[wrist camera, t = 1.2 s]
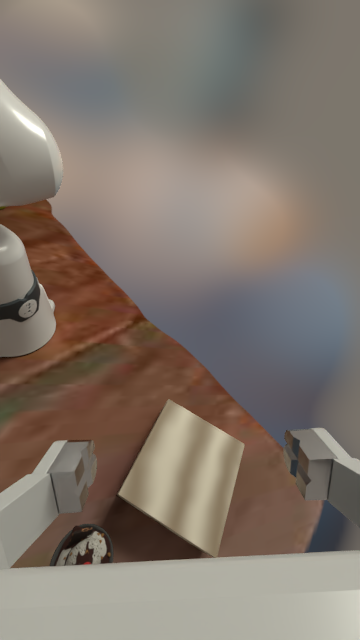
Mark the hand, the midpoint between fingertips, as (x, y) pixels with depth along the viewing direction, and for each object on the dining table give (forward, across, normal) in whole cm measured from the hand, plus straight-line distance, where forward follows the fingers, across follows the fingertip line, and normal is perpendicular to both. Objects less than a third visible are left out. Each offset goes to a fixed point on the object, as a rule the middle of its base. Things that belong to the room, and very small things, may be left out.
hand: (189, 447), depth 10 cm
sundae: (+17, +15, +32) cm, 39 cm away
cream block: (+26, +1, +29) cm, 39 cm away
